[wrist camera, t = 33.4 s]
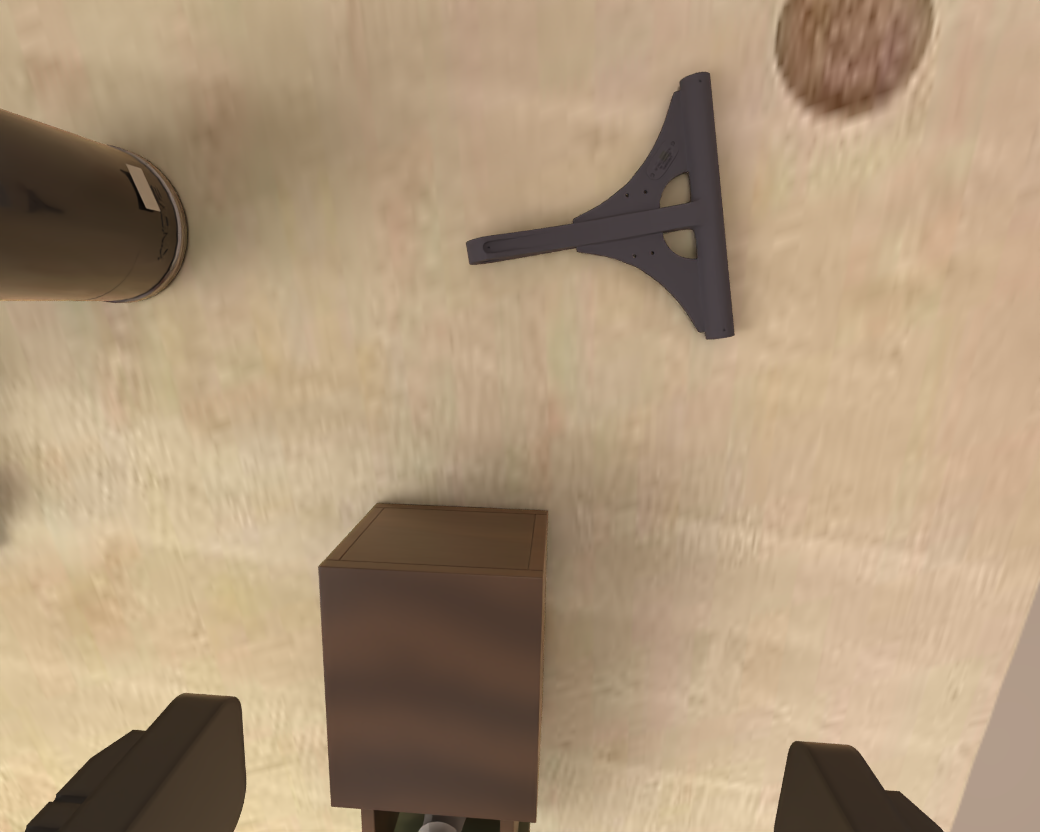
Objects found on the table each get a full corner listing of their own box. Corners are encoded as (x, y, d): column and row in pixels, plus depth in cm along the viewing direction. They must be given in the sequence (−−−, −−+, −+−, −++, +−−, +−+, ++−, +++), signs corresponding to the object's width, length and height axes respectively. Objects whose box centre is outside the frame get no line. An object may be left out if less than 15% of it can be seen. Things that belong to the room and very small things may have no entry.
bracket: (450, 131, 34) (440, 116, 32) (706, 80, 33) (719, 60, 30) (491, 370, 37) (486, 376, 34) (729, 334, 35) (743, 337, 33)
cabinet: (542, 704, 41) (536, 823, 32) (382, 694, 42) (330, 807, 33) (548, 510, 38) (543, 578, 29) (376, 502, 39) (317, 566, 30)
